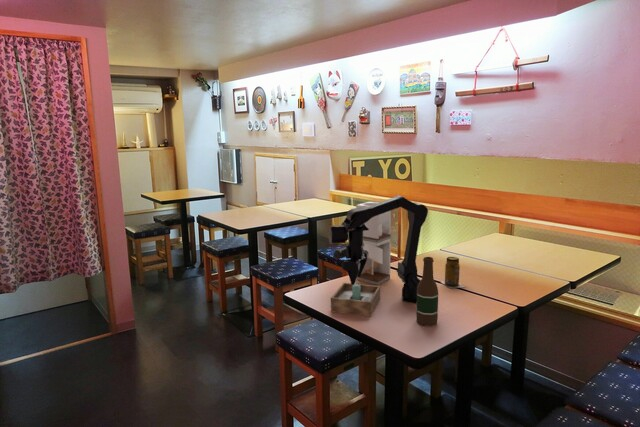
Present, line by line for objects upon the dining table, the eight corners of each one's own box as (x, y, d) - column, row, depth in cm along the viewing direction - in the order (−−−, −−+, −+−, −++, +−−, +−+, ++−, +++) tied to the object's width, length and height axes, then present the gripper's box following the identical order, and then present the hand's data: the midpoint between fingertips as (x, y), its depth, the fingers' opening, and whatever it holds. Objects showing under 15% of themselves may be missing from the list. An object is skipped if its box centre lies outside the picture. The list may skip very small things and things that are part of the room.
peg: (361, 304, 178) (361, 284, 176) (359, 307, 175) (359, 287, 173) (353, 303, 179) (353, 284, 177) (351, 306, 176) (351, 286, 174)
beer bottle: (433, 328, 155) (435, 262, 151) (412, 323, 159) (413, 259, 155) (440, 320, 162) (442, 256, 157) (419, 315, 166) (421, 253, 161)
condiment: (455, 280, 202) (456, 255, 200) (464, 287, 194) (466, 260, 192) (440, 282, 200) (441, 256, 198) (449, 288, 192) (450, 262, 190)
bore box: (380, 299, 182) (380, 286, 181) (370, 316, 166) (370, 302, 165) (343, 295, 187) (343, 282, 186) (330, 311, 171) (330, 298, 170)
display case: (356, 279, 206) (356, 204, 200) (369, 273, 214) (369, 201, 207) (377, 284, 199) (377, 207, 192) (390, 278, 207) (390, 203, 200)
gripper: (342, 234, 183) (342, 271, 186) (328, 246, 166) (329, 286, 169) (369, 236, 179) (368, 273, 182) (357, 248, 162) (357, 289, 165)
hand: (355, 280), depth 175 cm, fingers open, 9 cm apart
